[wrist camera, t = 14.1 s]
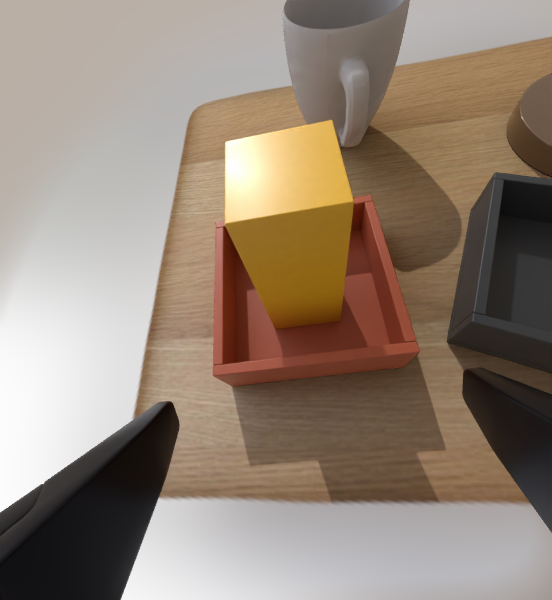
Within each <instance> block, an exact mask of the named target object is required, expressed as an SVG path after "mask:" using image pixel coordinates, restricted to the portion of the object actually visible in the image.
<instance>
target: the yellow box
mask: <svg viewBox="0 0 552 600" xmlns="http://www.w3.org/2000/svg"><path fill="white" fill-rule="evenodd" d="M353 207H354V200H353V196H352V192H351V188H350V185H349V181H348V177H347V173H346V170H345V166H344V162H343V158H342V155H341V151H340V147H339V143H338V140H337V136H336V132H335V128H334V125H333V121H332V120H328V121H323V122H318V123H313V124H309V125H304V126H299V127H294V128H289V129H284V130H280V131H275V132H270V133H265V134H260V135H255V136H251V137H246V138H241V139H236V140H231V141H226V142H225V226H226V228H227V230H228V232H229V234H230V237H231V239H232V241H233V243H234V245H235V247H236V249H237V251H238V253H239V255H240V257H241V259H242V261H243V264H244V266H245V268H246V270H247V272H248V274H249V276H250V278H251V280H252V282H253V284H254V286H255V288H256V291H257V293H258V295H259V297H260V299H261V301H262V303H263V305H264V307H265V309H266V311H267V313H268V315H269V318H270V320H271V322H272V324H273V326H274V328H275V329H283V328H290V327H298V326H306V325H314V324H321V323H329V322H337V321H340V320H341V312H342V303H343V294H344V286H345V277H346V268H347V259H348V251H349V242H350V233H351V225H352V216H353Z"/></svg>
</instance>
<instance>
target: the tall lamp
mask: <svg viewBox="0 0 552 600" xmlns="http://www.w3.org/2000/svg"><path fill="white" fill-rule="evenodd" d="M507 137H508V141H509V143H510V145H511V147H512V148H513V150H514V151H515V152H516V154H517V155H518V156H519V157H520V158H521V159H522V160H524V161H525V162H526V163H528V164H529V165H530V166H532V167H533V168H535V169H537V170H538V171H540V172H542V173H544V174H547V175H549V176H551V177H552V73H551V74H548V75H546V76H544V77H542V78H540V79H539V80H537V81H536V82H534V83H533V84H532V85H530V87H529V88H528V89H527V90H526V91H525V92H524V94H523V95H522V97H521V99H520V101H519V102H518V104H517V106H516V108H515V109H514V111H513V113H512V115H511V116H510V118H509V121H508V123H507Z"/></svg>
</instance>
